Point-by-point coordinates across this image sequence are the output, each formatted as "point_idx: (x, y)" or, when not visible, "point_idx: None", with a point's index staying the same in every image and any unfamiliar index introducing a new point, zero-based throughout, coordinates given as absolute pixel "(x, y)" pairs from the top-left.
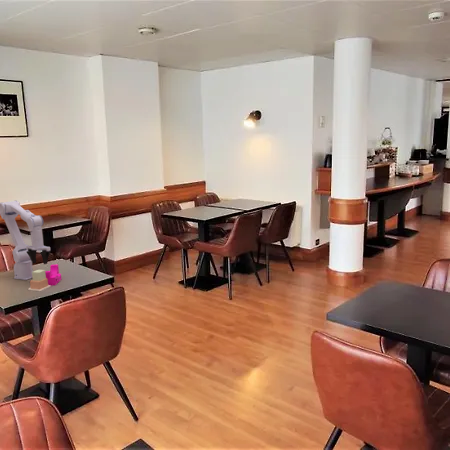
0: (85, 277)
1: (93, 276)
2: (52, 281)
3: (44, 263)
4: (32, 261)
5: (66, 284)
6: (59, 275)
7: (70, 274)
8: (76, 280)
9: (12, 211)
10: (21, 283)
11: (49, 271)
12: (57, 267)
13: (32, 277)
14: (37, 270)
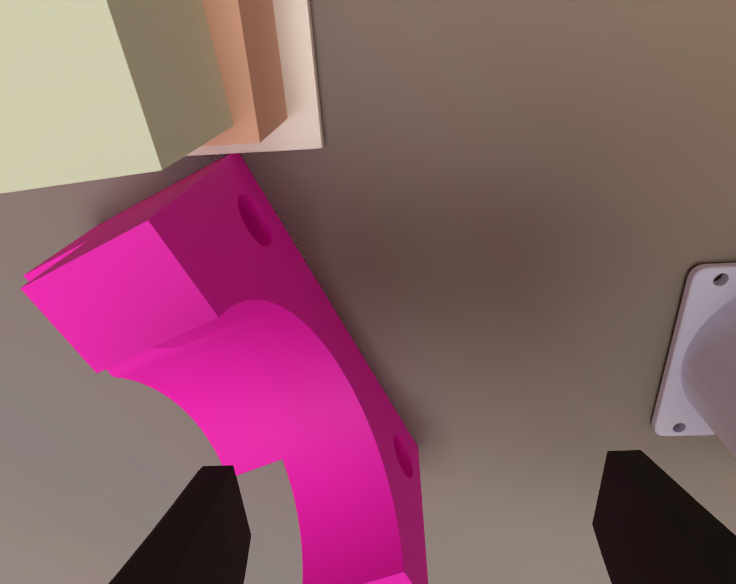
0: (67, 525)
1: (28, 562)
2: (96, 230)
3: (190, 482)
4: (649, 490)
5: (6, 300)
6: (214, 435)
7: (298, 551)
8: (52, 438)
9: None
10: (675, 109)
11: (79, 329)
12: (311, 569)
13: (666, 362)
14: (81, 94)
